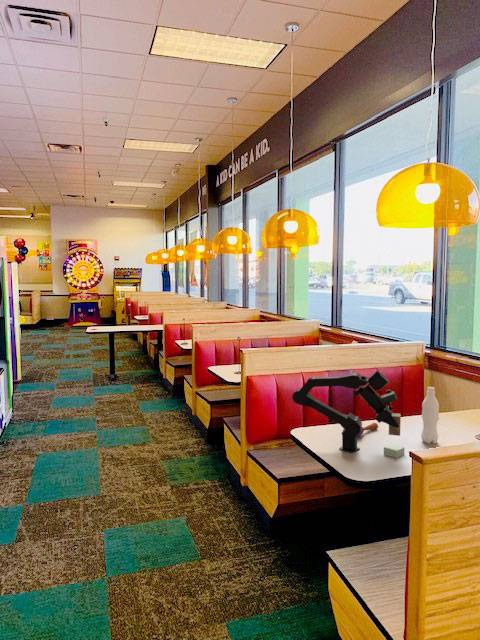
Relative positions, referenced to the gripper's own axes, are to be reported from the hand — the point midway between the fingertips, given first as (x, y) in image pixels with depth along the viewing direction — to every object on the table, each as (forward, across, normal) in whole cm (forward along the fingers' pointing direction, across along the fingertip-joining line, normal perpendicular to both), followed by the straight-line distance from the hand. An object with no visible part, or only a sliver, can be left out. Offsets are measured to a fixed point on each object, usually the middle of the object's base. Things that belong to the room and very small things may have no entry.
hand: (398, 425), depth 201 cm
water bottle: (+19, +20, -1) cm, 27 cm away
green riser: (+8, 0, +10) cm, 13 cm away
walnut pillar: (+2, 0, +4) cm, 4 cm away
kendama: (-2, +24, +20) cm, 31 cm away
